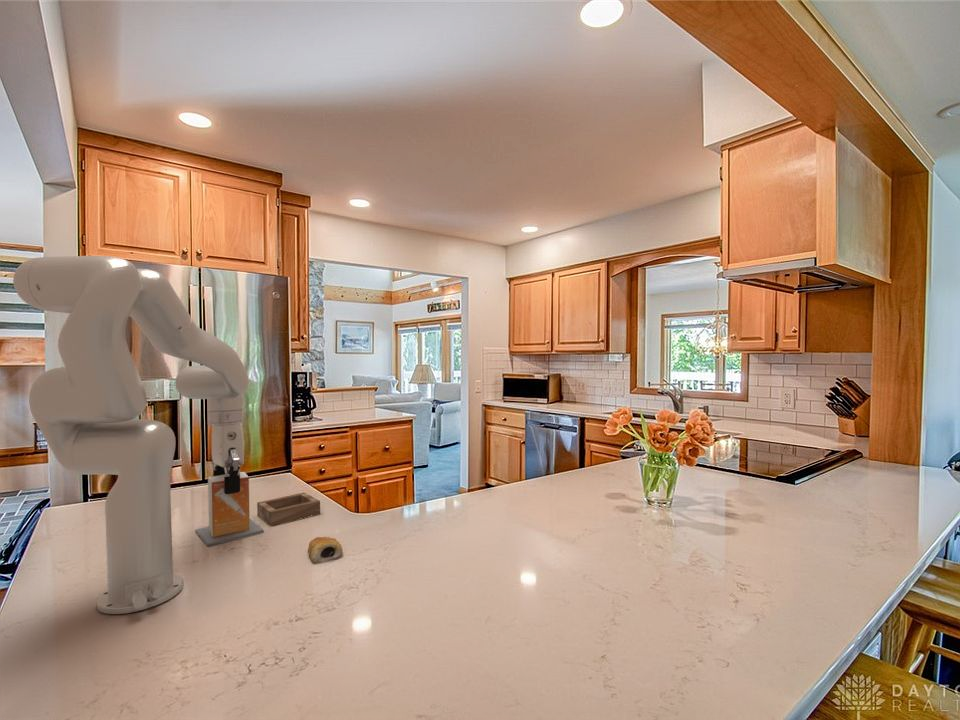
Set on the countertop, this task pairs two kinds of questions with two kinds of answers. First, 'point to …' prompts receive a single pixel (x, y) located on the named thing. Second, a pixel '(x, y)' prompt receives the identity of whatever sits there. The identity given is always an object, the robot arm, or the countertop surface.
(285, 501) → the holder
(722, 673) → the countertop surface
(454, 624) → the countertop surface
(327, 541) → the pastry
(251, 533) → the mat
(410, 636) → the countertop surface
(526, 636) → the countertop surface
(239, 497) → the small box
